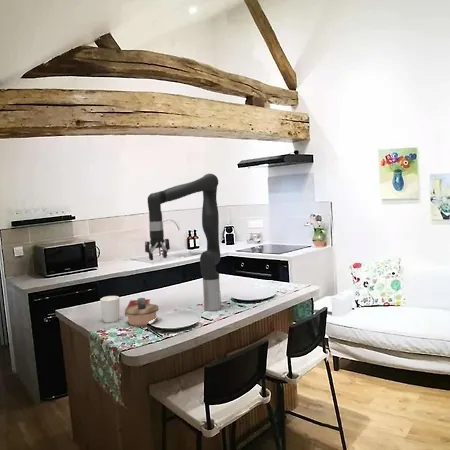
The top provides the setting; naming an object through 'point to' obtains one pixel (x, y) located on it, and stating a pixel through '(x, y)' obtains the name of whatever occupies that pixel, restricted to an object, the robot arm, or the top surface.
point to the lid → (141, 308)
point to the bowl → (141, 319)
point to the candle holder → (110, 308)
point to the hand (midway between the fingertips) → (158, 258)
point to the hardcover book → (136, 303)
